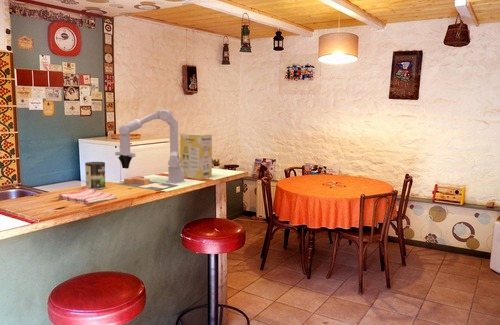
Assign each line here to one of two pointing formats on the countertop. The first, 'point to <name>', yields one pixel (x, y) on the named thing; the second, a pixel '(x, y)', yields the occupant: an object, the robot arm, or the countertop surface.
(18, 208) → the countertop surface
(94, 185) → the coffee can
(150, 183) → the slate mat
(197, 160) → the pasta box
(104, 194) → the dish towel
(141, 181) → the t block
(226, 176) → the countertop surface
